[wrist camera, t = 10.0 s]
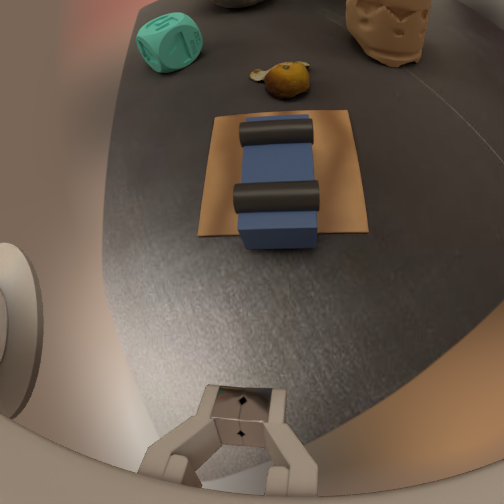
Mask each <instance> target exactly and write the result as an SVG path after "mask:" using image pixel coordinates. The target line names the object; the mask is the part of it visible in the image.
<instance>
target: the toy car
mask: <svg viewBox="0 0 504 504" xmlns="http://www.w3.org/2000/svg"><path fill="white" fill-rule="evenodd" d="M239 139H240V144H241V147H242V148H243V158H242V171H241V183H237V184H235V185H234V188H233V205H234V210H235V213H236V214H238V226H237V230H238V232H239V234H240V236H241V238H242V241H243V243H244V245H245V247H246V249H284V248H316V243H317V230H318V223H317V212H319V210H320V194H319V182H318V180H315V176H314V164H313V152H312V145H313V144H314V130H313V120H312V118H309V115H308V114H297V115H276V116H260V117H248V118H246V120H245V122H241V123H240V124H239Z"/></svg>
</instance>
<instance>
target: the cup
mask: <svg viewBox="0 0 504 504" xmlns="http://www.w3.org/2000/svg"><path fill="white" fill-rule="evenodd" d="M209 1H210V2H212V3H214V4H215V5H218V6H221V7H225V8H244V7H249V6H253V5H255V4H257V3H260V2H262V1H264V0H209Z"/></svg>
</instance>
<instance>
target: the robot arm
mask: <svg viewBox="0 0 504 504" xmlns="http://www.w3.org/2000/svg"><path fill="white" fill-rule="evenodd" d="M7 336H8V311H7V305H6V300H5V297H4V294H3V292H2V290H1V288H0V365H1V362H2V360H3V357H4V353H5V349H6V343H7ZM286 411H287V390H286V389H275V388H247V387H246V388H242V387H231V386H220V385H210V384H208V385H207V386H206V387H205V390H204V393H203V396H202V399H201V402H200V405H199V408H198V411H197V414H196V416H191V417H190V418H189V419H187V420H186V421H184V422H183V423H182V424H180V425H179V426H178V427H176V428H175V429H174V430H172V431H171V432H169V433H168V434H167V435H165V436H164V437H162V438H161V439H159V440H158V441H157V442H155V443H154V444H152V445H151V446H149V447H148V449H147V451H146V453H145V456H144V458H143V460H142V463H141V465H140V468H139V470H138V472H137V473H134V472H131V471H128V470H124V469H121V468H118V467H115V466H112V465H109V464H106V463H103V462H101V461H98V460H96V459H93V458H90V457H88V456H85V455H82V454H80V453H78V452H75V451H73V450H70V449H68V448H66V447H64V446H61V445H59V444H57V443H55V442H53V441H51V440H49V439H47V438H44V437H43V436H40V435H38V434H37V433H35V432H32V431H31V430H29V429H27V428H25V427H23V426H22V425H20V424H18V423H16V422H15V421H13V420H11V419H9V418H8V417H6V416H4V415H3V414H1V413H0V504H504V459H502V460H500V461H497V462H495V463H492V464H489V465H486V466H484V467H481V468H478V469H475V470H472V471H469V472H466V473H462V474H459V475H456V476H453V477H449V478H445V479H441V480H437V481H433V482H429V483H424V484H420V485H415V486H411V487H405V488H400V489H393V490H387V491H380V492H372V493H364V494H354V495H341V496H321V497H317V489H318V465H317V464H316V462H315V461H314V460H313V458H312V457H311V456H310V454H309V453H308V452H307V450H306V449H305V447H304V446H303V445H302V443H301V442H300V440H299V439H298V438H297V436H296V435H295V433H294V432H293V431H292V429H291V428H290V426H289V425H288V423H286ZM222 444H225V445H238V446H250V447H261V448H266V450H267V452H268V454H269V456H270V457H271V459H272V461H273V463H274V465H275V466H272V467H271V468H269V469H268V475H267V482H266V488H265V494H264V495H249V494H240V493H231V492H223V491H216V490H210V489H204V488H202V484H201V482H200V480H199V478H198V477H197V475H196V473H195V471H196V470H197V469H198V468H199V467H200V466H201V465H202V464H203V463H204V462H206V461H207V460H208V459H209V458H210V457H211V456H212V455H213V454H214V453H215V452H216V451H217V450H218V449H219V448H220V447H221V446H222Z"/></svg>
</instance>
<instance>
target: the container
mask: <svg viewBox="0 0 504 504" xmlns="http://www.w3.org/2000/svg"><path fill="white" fill-rule="evenodd" d="M430 6H431V0H346V25H347V29H348V31H349V32H350V33H351V35H352V36H353V37H354V38H355V39H356V40H357V42H358V43H359V44H360V46H361V47H362V49H363V50H364V52H365V53H366V54H367V55H369V56H371V57H372V58H374V59H376V60H378V61H379V62H380V63H382V64H386V65H387V66H389V67H399V66H400V65H403V64H405V63H409V62H413V61H414V62H416V63H418V62H419V60H420V58H421V54H422V48H423V44H424V39H425V34H426V29H427V24H428V18H429V12H430Z"/></svg>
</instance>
